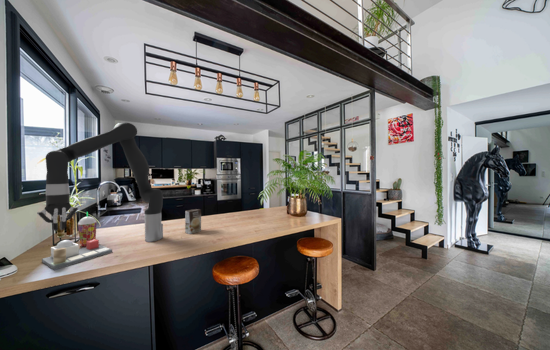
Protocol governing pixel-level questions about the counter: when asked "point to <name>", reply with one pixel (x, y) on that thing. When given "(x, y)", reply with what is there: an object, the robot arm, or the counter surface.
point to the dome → (64, 244)
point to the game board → (78, 254)
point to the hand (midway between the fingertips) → (59, 229)
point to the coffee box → (192, 221)
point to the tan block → (59, 255)
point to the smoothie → (87, 229)
